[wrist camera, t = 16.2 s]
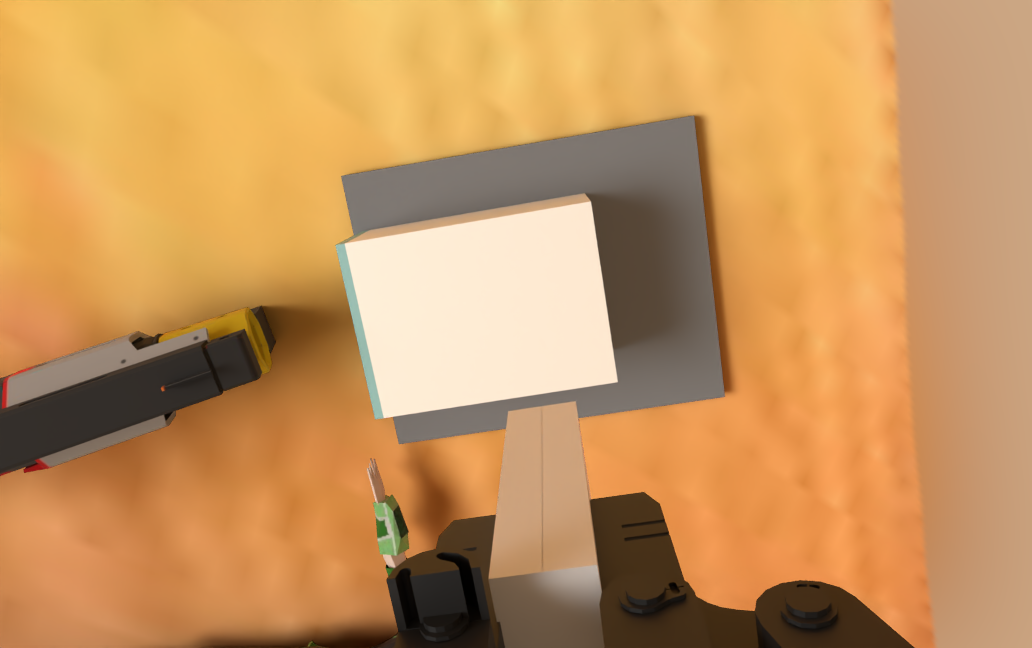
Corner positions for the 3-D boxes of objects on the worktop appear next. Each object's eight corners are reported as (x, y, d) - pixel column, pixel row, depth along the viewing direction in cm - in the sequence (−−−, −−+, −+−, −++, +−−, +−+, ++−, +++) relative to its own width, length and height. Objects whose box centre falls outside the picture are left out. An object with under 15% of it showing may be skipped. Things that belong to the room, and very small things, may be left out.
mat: (344, 175, 38) (341, 176, 37) (691, 115, 36) (694, 115, 36) (400, 439, 41) (398, 444, 40) (722, 392, 40) (724, 396, 39)
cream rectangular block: (584, 193, 37) (362, 231, 38) (591, 201, 32) (335, 245, 33) (608, 351, 39) (395, 384, 39) (617, 382, 34) (375, 419, 35)
